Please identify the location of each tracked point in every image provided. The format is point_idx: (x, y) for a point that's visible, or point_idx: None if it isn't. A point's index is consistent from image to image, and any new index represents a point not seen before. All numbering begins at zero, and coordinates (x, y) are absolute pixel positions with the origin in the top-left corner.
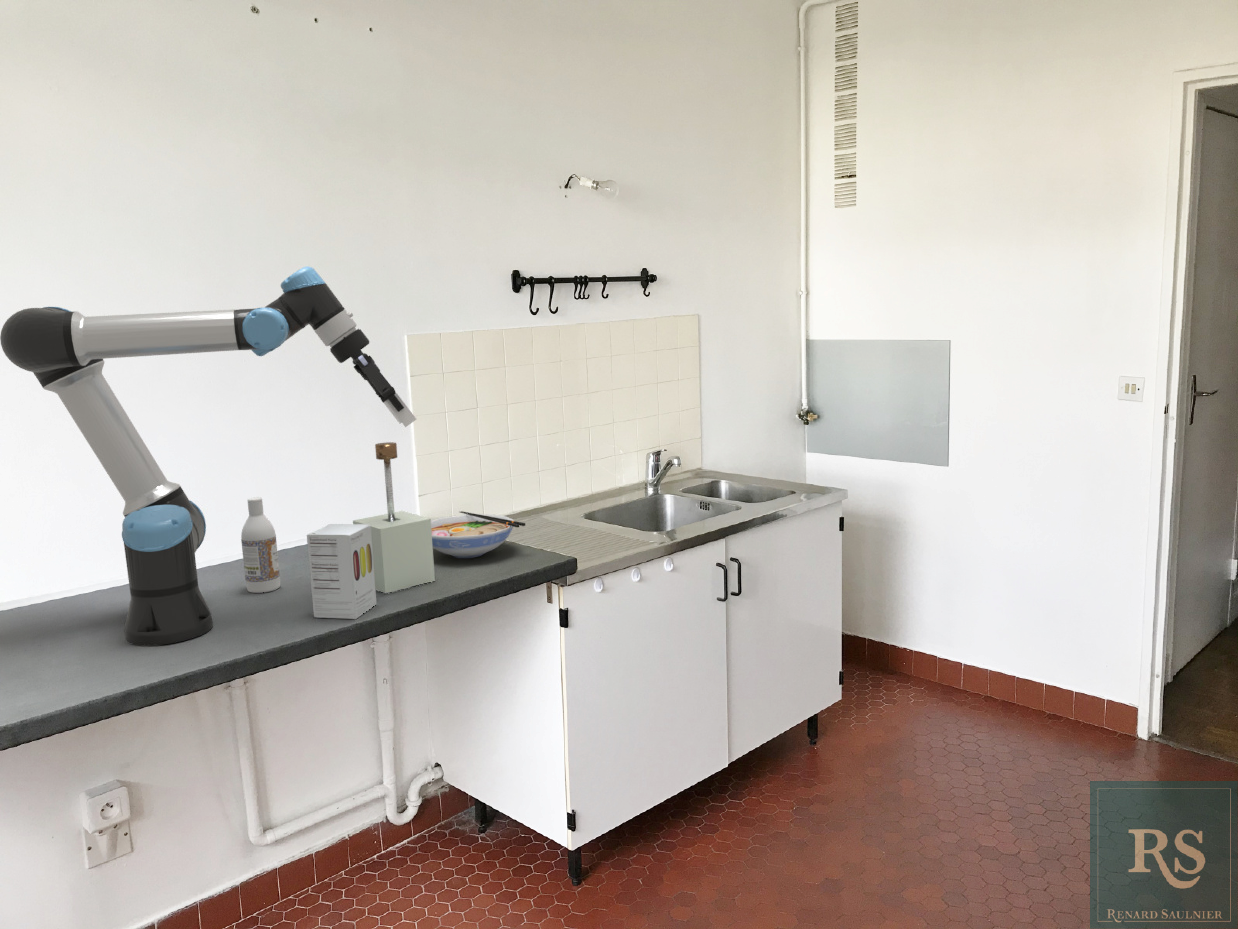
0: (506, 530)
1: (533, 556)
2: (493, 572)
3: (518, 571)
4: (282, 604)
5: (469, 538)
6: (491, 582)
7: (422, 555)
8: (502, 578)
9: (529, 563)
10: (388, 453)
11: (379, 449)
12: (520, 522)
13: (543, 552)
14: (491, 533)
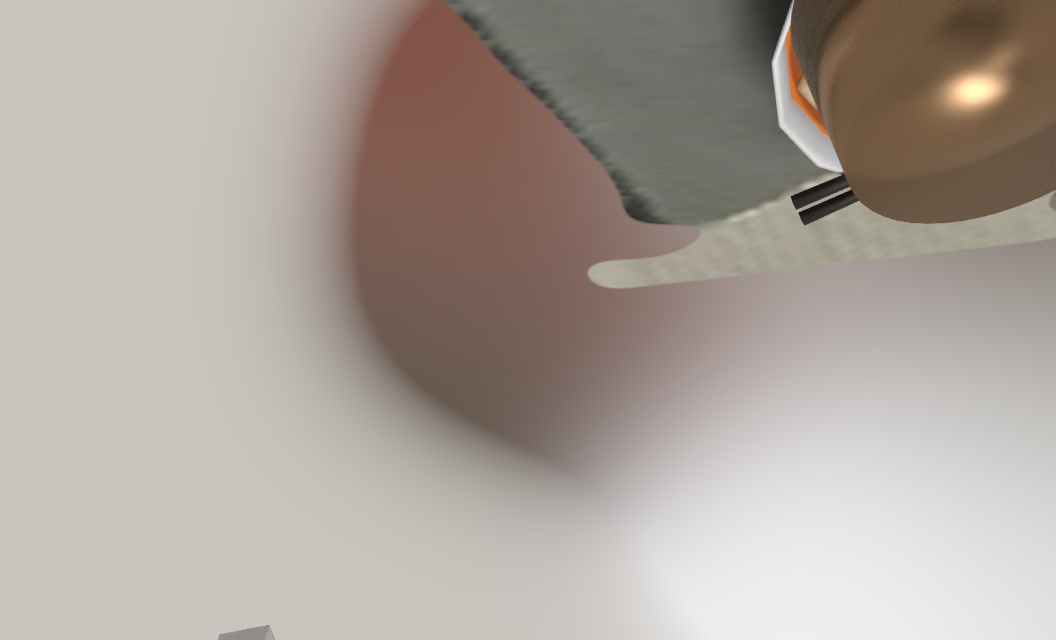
0: (816, 156)
1: (764, 147)
2: (623, 29)
3: (599, 105)
4: None
5: (783, 26)
6: (488, 22)
7: None
8: (529, 57)
9: (683, 136)
10: (810, 74)
11: (900, 6)
12: (827, 212)
13: (794, 173)
14: (778, 114)
